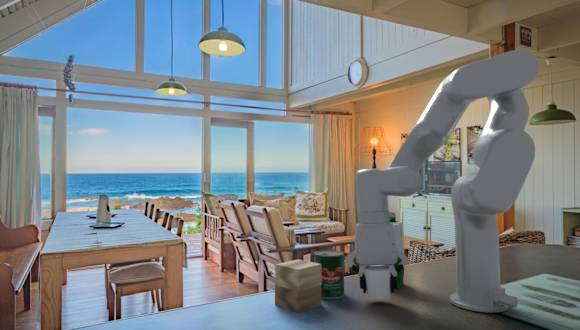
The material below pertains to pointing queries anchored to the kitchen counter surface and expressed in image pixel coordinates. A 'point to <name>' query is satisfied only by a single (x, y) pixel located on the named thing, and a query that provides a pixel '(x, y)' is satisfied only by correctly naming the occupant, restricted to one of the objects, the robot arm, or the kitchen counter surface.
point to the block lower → (297, 298)
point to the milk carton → (399, 247)
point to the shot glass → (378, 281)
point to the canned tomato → (331, 273)
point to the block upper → (298, 275)
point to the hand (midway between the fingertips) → (378, 291)
